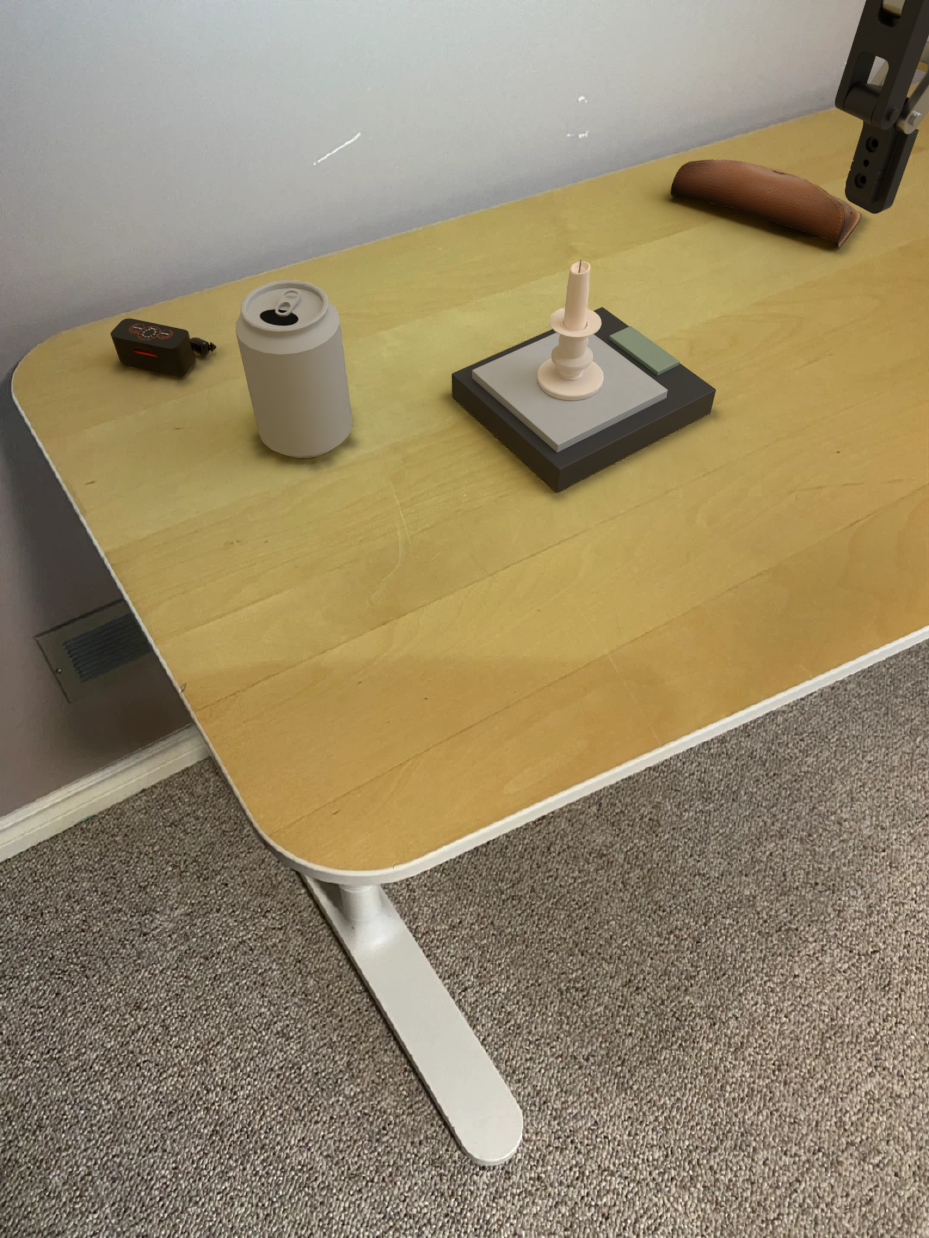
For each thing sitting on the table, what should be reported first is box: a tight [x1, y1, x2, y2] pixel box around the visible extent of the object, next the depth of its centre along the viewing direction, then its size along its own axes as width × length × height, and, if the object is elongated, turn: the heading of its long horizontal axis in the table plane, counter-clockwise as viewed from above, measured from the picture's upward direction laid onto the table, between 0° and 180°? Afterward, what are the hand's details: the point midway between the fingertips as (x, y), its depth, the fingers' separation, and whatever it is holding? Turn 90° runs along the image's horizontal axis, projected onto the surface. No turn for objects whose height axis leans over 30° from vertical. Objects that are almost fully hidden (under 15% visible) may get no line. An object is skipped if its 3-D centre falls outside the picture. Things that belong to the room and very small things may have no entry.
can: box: [235, 279, 354, 459], centre depth 72 cm, size 8×8×12 cm
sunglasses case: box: [670, 158, 862, 249], centre depth 96 cm, size 18×7×7 cm
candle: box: [537, 259, 604, 401], centre depth 72 cm, size 5×5×10 cm
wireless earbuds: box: [109, 317, 217, 379], centre depth 82 cm, size 5×7×3 cm, turn 71°
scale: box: [451, 306, 717, 493], centre depth 78 cm, size 16×14×3 cm
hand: (926, 178), depth 46 cm, fingers open, 8 cm apart
